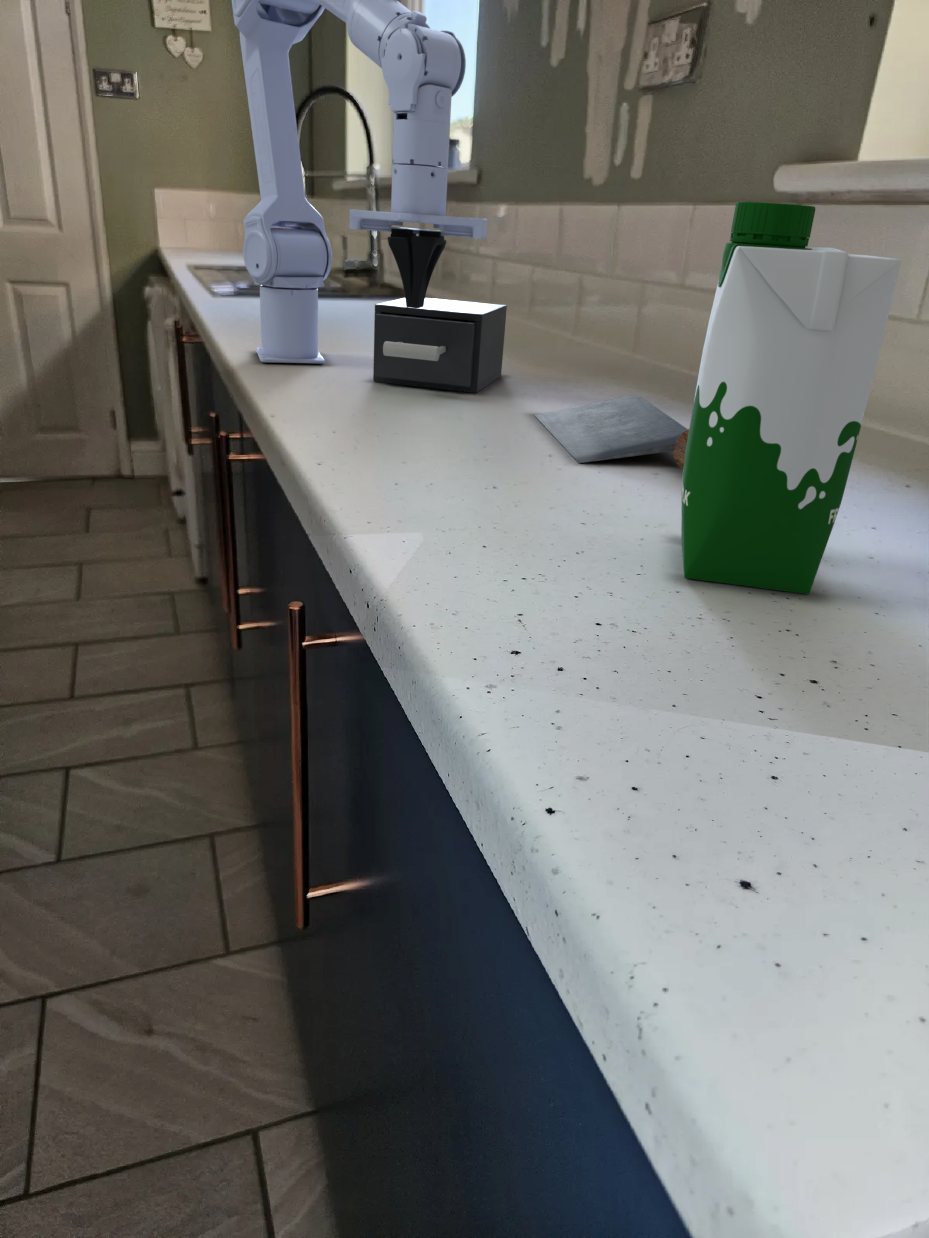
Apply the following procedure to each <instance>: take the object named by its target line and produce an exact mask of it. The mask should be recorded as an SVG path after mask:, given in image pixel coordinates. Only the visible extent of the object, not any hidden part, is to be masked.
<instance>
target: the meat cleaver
mask: <svg viewBox="0 0 929 1238" xmlns="http://www.w3.org/2000/svg"><path fill="white" fill-rule="evenodd" d="M534 417H535V418H536V419H537V420H538V421H539V422H540V423H541V424H542V425H543V426H544V427H545V428H546V429H547V431H548V432H549V433H550V434H551V435H552V437H554V438H555V440H557V441H558V442H559V443H560V445H561V446H562V447H563V448H564V449H565V450H566V451H567V452H568V454H570V455H571V456H572V458H573V459H574V460H575V461H576V462H577V463H578V464H583V463H591V462H599V461H607V460H613V459H614V460H615V459H622V458H629V457H637V456H645V455H646V456H647V455H651V454H652V455H653V454H658V453H659V454H660V453H669V452H673V455H672V456H673V459H674V462H675V464H676V465H677V466H678V467H679V468H680V469H682V470H683V467H684V457H685V451H686V445H687V439H688V433H689V428H687V427H685V426H684V425H683V424H682V423H679V422H678V421H677V420H676V419H675V418H672V417H671V416H669V415H668V414H667V413H666V412H664V411H662V410H661V409H660V408H658V407H656V406H655V405H653V404H652V403H651V402H649V401H648V400H646V399H645V398H643V397H642V396H641V395H640V394H632V395H626V396H621V397H617V398H612V399H606V400H602V401H596V402H592V403H586V404H582V405H577V406H572V407H567V408H562V409H557V410H552V411H547V412H543V413H537V414H534Z"/></svg>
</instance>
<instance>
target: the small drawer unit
mask: <svg viewBox="0 0 929 1238" xmlns="http://www.w3.org/2000/svg"><path fill="white" fill-rule="evenodd" d="M507 308H508V305H507V304H496V303H486V302H477V301H465V300H455V299H443V298H433V297H432V298H431V297H425V300H424V306H423V307H421V308H411V307H406V299H405V297H402V298H397V299H394V300H388V301H383V302H379V303H375V304H374V315H375V314H389V315H390V314H393V313H395V314H405V315H415V316H426V317H436V318H446V319H457V320H467V321H475V337H474V352H473V367H472V381H471V386H469V387H465V386H456V385H447V384H438V383H430V382H421V381H412V380H403V379H394V378H385V377H376V376H373V375H372V378H373V379H372V382H375V383H384V384H391V385H392V384H394V385H401V386H410V387H411V386H412V387H420V388H429V389H437V390H447V391H454V392H455V391H456V392H465V393H472V394H477V393H479V392H480V391H482V390H483V389H484V388H486V387H487V386H489V385H490V384H492V383H493V382H495V381H496V380H497V379H499V378H500V377H502V371H503V370H502V369H503V359H504V347H505V346H504V345H505V334H506V321H507Z"/></svg>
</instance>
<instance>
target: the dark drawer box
mask: <svg viewBox="0 0 929 1238" xmlns="http://www.w3.org/2000/svg"><path fill="white" fill-rule="evenodd" d="M373 321H374V324H373V325H374V326H373V327H374V328H373V330H374V331H373V371H372V372H373V374H372V377H373V376H376V377H385V378H394V379H403V380H412V381H421V382H430V383H438V384H447V385H456V386H465V387H469V386H471V381H472V367H473V352H474V337H475V321H467V320H457V319H446V318H436V317H426V316H415V315H405V314H395V313H393V314H390V315H389V314H375V313H374V320H373Z"/></svg>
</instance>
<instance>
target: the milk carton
mask: <svg viewBox="0 0 929 1238" xmlns="http://www.w3.org/2000/svg"><path fill="white" fill-rule="evenodd" d="M815 213H816V206H814V205H807V204H806V205H805V204H794V203H781V202H763V201H761V202H760V201H736V203H735V208H734V212H733V219H732V222H731V223H732V224H731V229H730V237H729V242H726V243H725V245H724V249H723V253H722V259H721V267H720V272H719V277H718V281H717V285H716V290H715V294H714V298H713V303H712V306H711V311H710V315H709V320H708V323H707V324H708V325H707V329H706V334H705V340H704V342H703V343H704V344H703V347H702V353H701V359H700V365H699V371H698V376H697V382H696V388H695V392H694V399H693V404H692V411H691V417H690V422H689V427H688V429H689V433H688V439H687V445H686V451H685V457H684V467H683V469H682V474H681V475H682V476H681V528H680V529H681V531H680V532H681V535H680V536H681V539H680V540H681V552H682V565H683V566H682V567H683V577H684V579H691V580H700V581H705V582H713V583H722V584H729V585H735V586H744V587H750V588H751V587H752V588H758V589H767V590H775V591H782V592H790V593H798V594H805V595H806V594H807V595H809V594H811V591H812V588H813V585H814V582H815V580H816V576H817V573H818V572H819V571H818V570H819V568H820V565H821V562H822V560H823V556H824V553H825V551H826V547H827V545H828V542H829V540H830V539H829V538H830V536H831V533H832V531H833V528H834V525H835V522H836V520H837V516H838V514H839V512H840V508H841V505H842V501H843V497H844V492H845V489H846V486H847V483H848V478H849V474H850V470H851V466H852V462H853V459H854V456H855V451H856V447H857V444H858V439H859V436H860V435H859V434H860V432H861V428H862V424H863V420H864V416H865V412H866V410H867V409H866V408H867V404H868V401H869V397H870V393H871V389H872V385H873V382H874V377H875V374H876V371H877V365H878V362H879V358H880V354H881V350H882V346H883V343H884V342H883V341H884V337H885V333H886V328H887V324H888V319H889V314H890V311H891V306H892V303H893V297H894V293H895V290H896V285H897V282H898V281H897V280H898V278H899V273H900V269H901V265H902V262H903V261H902V259H899V258H893V257H884V256H878V255H877V256H876V255H866V254H852V253H848V252H847V251H845V250H842V249H838V248H834V247H808V246H809V241H810V238H811V234H812V229H813V224H814V218H815Z"/></svg>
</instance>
